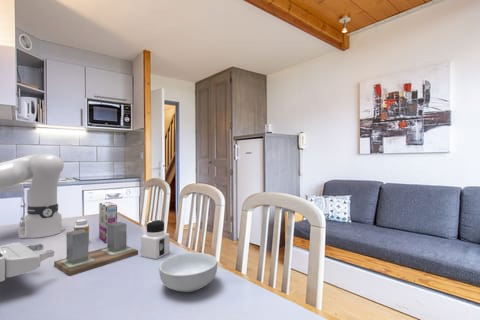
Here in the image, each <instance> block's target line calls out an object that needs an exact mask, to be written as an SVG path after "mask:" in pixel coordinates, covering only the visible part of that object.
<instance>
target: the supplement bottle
mask: <svg viewBox="0 0 480 320" xmlns="http://www.w3.org/2000/svg"><path fill="white" fill-rule="evenodd" d="M81 229H83V230H85V231H88V243H89V242H90V225H89V224H88V220H87V219H85V218H84V219H82V218H81V219H77V220H76V222H75V225H74V226H73V231H76V230H81Z"/></svg>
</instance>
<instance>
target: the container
mask: <svg viewBox="0 0 480 320" xmlns="http://www.w3.org/2000/svg"><path fill="white" fill-rule="evenodd" d="M170 235H171V234H170V233H167V232H165V222H164V220H161V219H154V220H150V221H148V222H147V223H146V234H143V235H140V256H141V257H145V258H148V259H153V260H157V259H160V258H162V257H164V256H166V255H168V254H170V249H171V248H170V244H171V243H170V242H171V241H170V238H171V237H170Z"/></svg>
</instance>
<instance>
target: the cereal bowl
mask: <svg viewBox="0 0 480 320" xmlns="http://www.w3.org/2000/svg"><path fill="white" fill-rule="evenodd" d="M217 269H218V261H217V258H216V257H215V256H214V255H212V254H210V253H203V252H182V253H179V254H175V255H172V256H169V257H167V258H165V259H164V260H162V261H161V262H160V264H159V266H158V272H159V273H158V274H159V278H160V280H161V282H162V284H163V285H164V286H165V287H166V288H169V289H170V290H174V291H176V292H177V291H178V292H181V293H191V292H196V291H198V290H200V289H201V288H203V287H205V286H207V285H208V284H210V283H211V282H212V281H213V280H214V278H215V276H216V274H217V271H218V270H217Z"/></svg>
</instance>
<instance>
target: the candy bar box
mask: <svg viewBox="0 0 480 320" xmlns="http://www.w3.org/2000/svg"><path fill="white" fill-rule="evenodd" d="M98 205H99V207H98V210H99V211H98V212H99V215H98V222H99V223H98V225H99V227H98V238H99V239H101V241H103V243H105V244H107V224H111V223H116V222H118V205H117V204H116V203H113V202H110V201H107V202H99V204H98Z"/></svg>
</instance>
